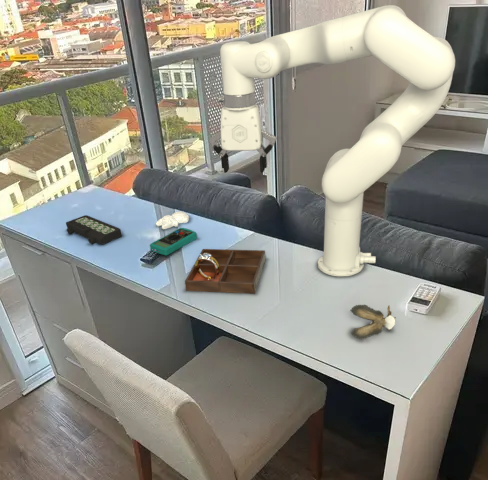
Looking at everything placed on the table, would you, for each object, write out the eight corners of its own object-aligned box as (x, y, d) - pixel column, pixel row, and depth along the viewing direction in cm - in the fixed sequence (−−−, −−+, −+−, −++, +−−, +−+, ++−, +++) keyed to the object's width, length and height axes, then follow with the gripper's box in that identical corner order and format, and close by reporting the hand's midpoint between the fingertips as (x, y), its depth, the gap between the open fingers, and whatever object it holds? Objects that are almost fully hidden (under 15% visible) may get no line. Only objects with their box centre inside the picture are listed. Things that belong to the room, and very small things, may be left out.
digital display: (60, 222, 168) (85, 213, 173) (63, 231, 169) (87, 222, 175) (95, 238, 155) (121, 227, 161) (97, 247, 157) (122, 236, 163)
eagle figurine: (381, 312, 115) (346, 311, 113) (395, 299, 109) (358, 298, 107) (387, 342, 112) (350, 342, 111) (402, 331, 106) (363, 331, 104)
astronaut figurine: (152, 224, 169) (150, 215, 168) (182, 214, 175) (180, 205, 173) (164, 231, 164) (163, 223, 162) (194, 221, 169) (193, 212, 167)
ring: (195, 279, 135) (191, 254, 130) (202, 274, 137) (198, 248, 132) (215, 285, 131) (212, 259, 127) (222, 280, 133) (219, 254, 129)
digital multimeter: (199, 238, 157) (197, 230, 156) (166, 257, 148) (164, 248, 147) (182, 233, 161) (181, 225, 160) (149, 251, 152) (148, 243, 150)
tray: (265, 259, 143) (265, 250, 141) (254, 293, 128) (254, 284, 126) (203, 257, 146) (202, 248, 145) (186, 290, 132) (184, 281, 130)
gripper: (201, 105, 117) (209, 176, 127) (272, 103, 113) (275, 175, 123) (209, 98, 123) (216, 166, 133) (277, 96, 119) (279, 166, 129)
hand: (244, 170), depth 128 cm, fingers open, 9 cm apart
